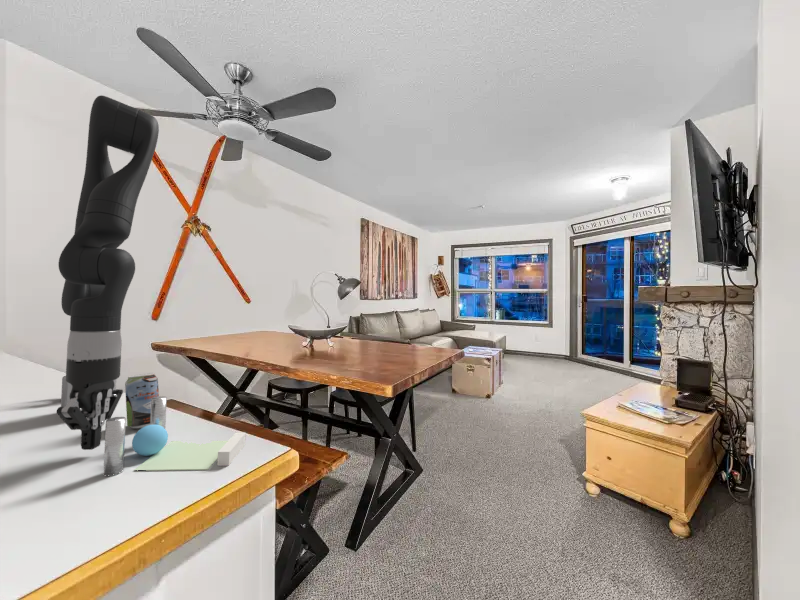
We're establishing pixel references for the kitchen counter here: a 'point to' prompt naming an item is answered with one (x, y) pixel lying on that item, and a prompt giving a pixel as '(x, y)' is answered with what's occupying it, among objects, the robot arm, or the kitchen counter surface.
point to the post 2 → (158, 411)
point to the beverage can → (140, 398)
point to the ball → (150, 440)
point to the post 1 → (114, 445)
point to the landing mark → (183, 457)
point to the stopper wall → (231, 449)
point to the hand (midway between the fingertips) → (90, 447)
